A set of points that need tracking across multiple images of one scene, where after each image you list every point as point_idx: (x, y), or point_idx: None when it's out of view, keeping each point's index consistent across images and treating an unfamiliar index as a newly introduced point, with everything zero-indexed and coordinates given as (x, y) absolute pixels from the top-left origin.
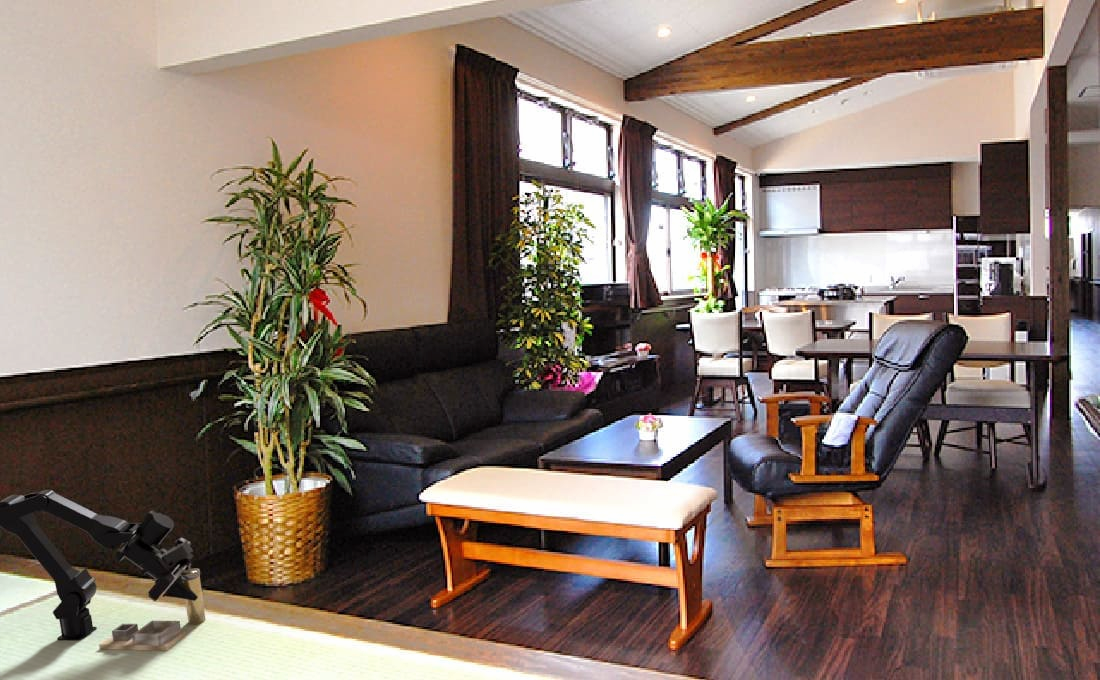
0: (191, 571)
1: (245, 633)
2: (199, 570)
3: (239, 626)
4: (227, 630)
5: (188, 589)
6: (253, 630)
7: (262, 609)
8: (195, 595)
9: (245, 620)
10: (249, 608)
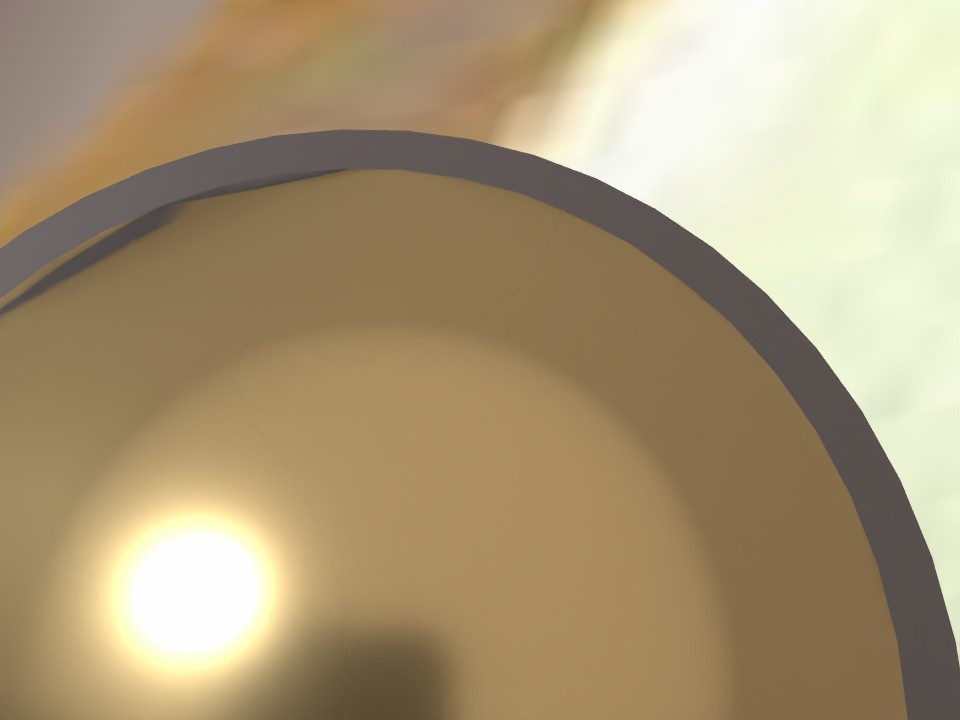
0: (325, 570)
1: (920, 62)
2: (331, 140)
3: (740, 139)
4: (813, 235)
5: None
6: (865, 8)
7: (387, 3)
8: None
9: (606, 108)
10: (306, 117)
